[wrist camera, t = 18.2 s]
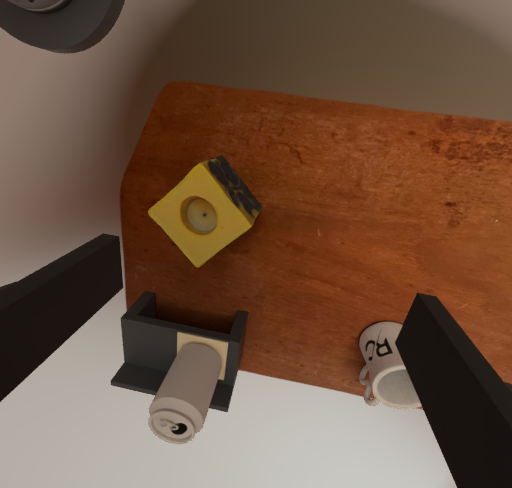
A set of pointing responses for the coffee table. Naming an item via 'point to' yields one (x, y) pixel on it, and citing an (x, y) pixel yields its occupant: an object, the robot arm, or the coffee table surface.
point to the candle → (206, 210)
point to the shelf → (173, 350)
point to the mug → (385, 368)
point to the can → (185, 394)
